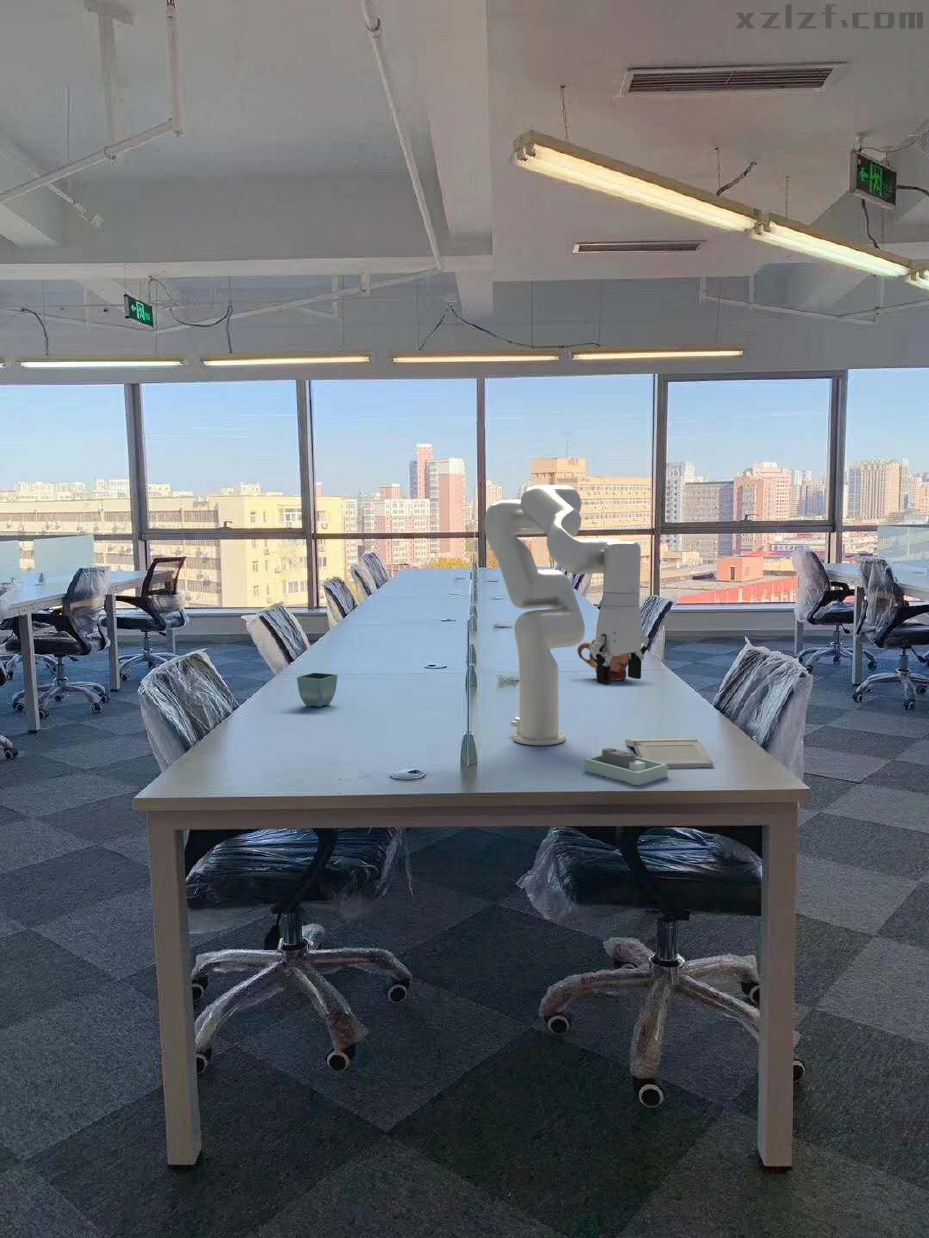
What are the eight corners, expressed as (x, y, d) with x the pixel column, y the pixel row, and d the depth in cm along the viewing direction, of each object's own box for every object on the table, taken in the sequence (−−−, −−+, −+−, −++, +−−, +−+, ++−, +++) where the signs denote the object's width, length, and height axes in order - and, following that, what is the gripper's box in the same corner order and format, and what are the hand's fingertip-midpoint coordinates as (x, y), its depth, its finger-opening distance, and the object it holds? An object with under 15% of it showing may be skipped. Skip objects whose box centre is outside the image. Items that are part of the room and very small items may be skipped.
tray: (584, 770, 188) (584, 758, 188) (614, 762, 194) (614, 751, 194) (637, 785, 177) (638, 773, 177) (667, 776, 183) (667, 764, 183)
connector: (598, 766, 189) (598, 750, 189) (608, 763, 191) (608, 747, 191) (636, 776, 181) (636, 759, 181) (646, 773, 183) (646, 756, 183)
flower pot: (339, 703, 262) (338, 673, 261) (322, 709, 254) (321, 679, 253) (314, 701, 265) (313, 672, 264) (296, 707, 257) (295, 677, 256)
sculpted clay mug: (572, 680, 294) (572, 638, 292) (581, 674, 305) (581, 634, 304) (632, 683, 286) (632, 641, 285) (639, 677, 298) (639, 636, 296)
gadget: (624, 744, 212) (624, 729, 212) (686, 743, 212) (686, 728, 212) (644, 771, 189) (644, 754, 189) (714, 770, 189) (714, 753, 189)
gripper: (634, 595, 192) (632, 673, 195) (578, 601, 182) (577, 683, 184) (662, 599, 187) (659, 678, 189) (606, 605, 176) (604, 689, 178)
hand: (619, 680), depth 187 cm, fingers open, 9 cm apart
